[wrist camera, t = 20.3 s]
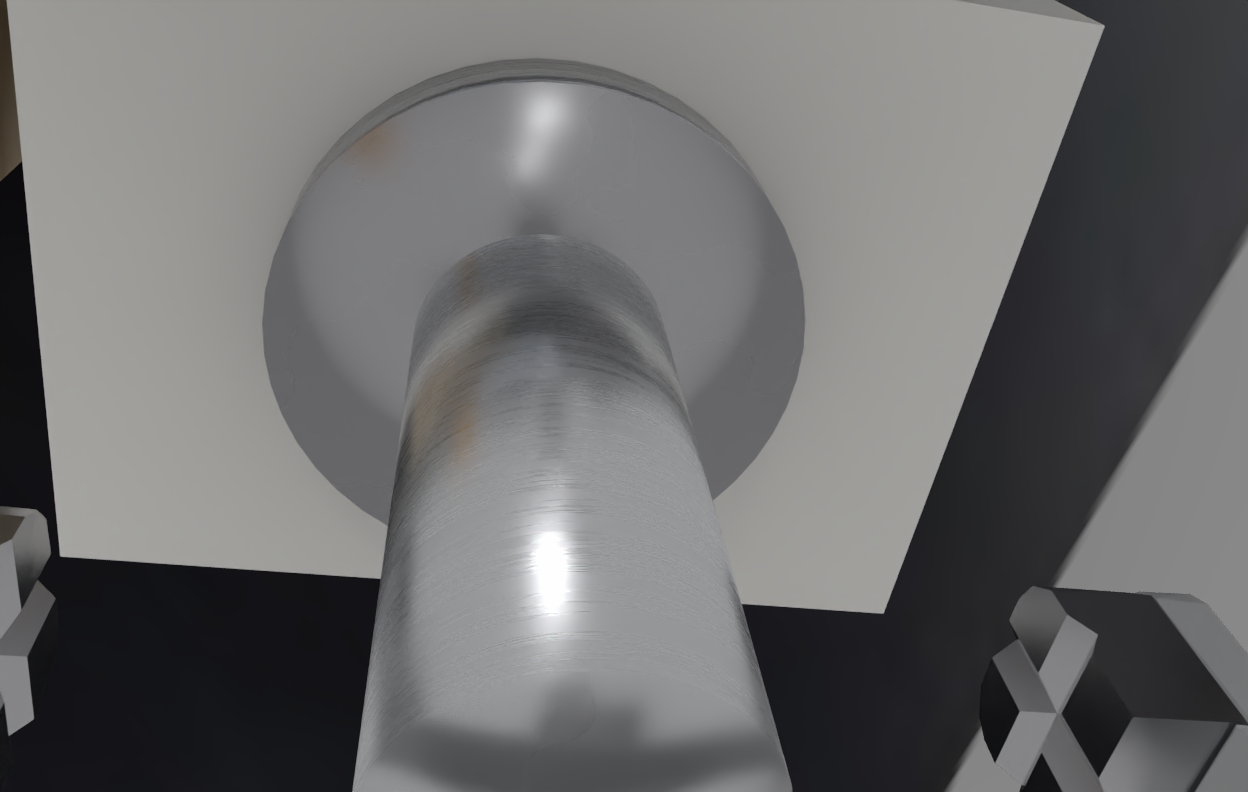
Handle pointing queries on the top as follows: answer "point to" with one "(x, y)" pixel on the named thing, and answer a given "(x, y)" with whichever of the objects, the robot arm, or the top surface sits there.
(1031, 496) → the top surface
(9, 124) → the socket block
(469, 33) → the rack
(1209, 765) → the robot arm
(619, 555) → the peg
